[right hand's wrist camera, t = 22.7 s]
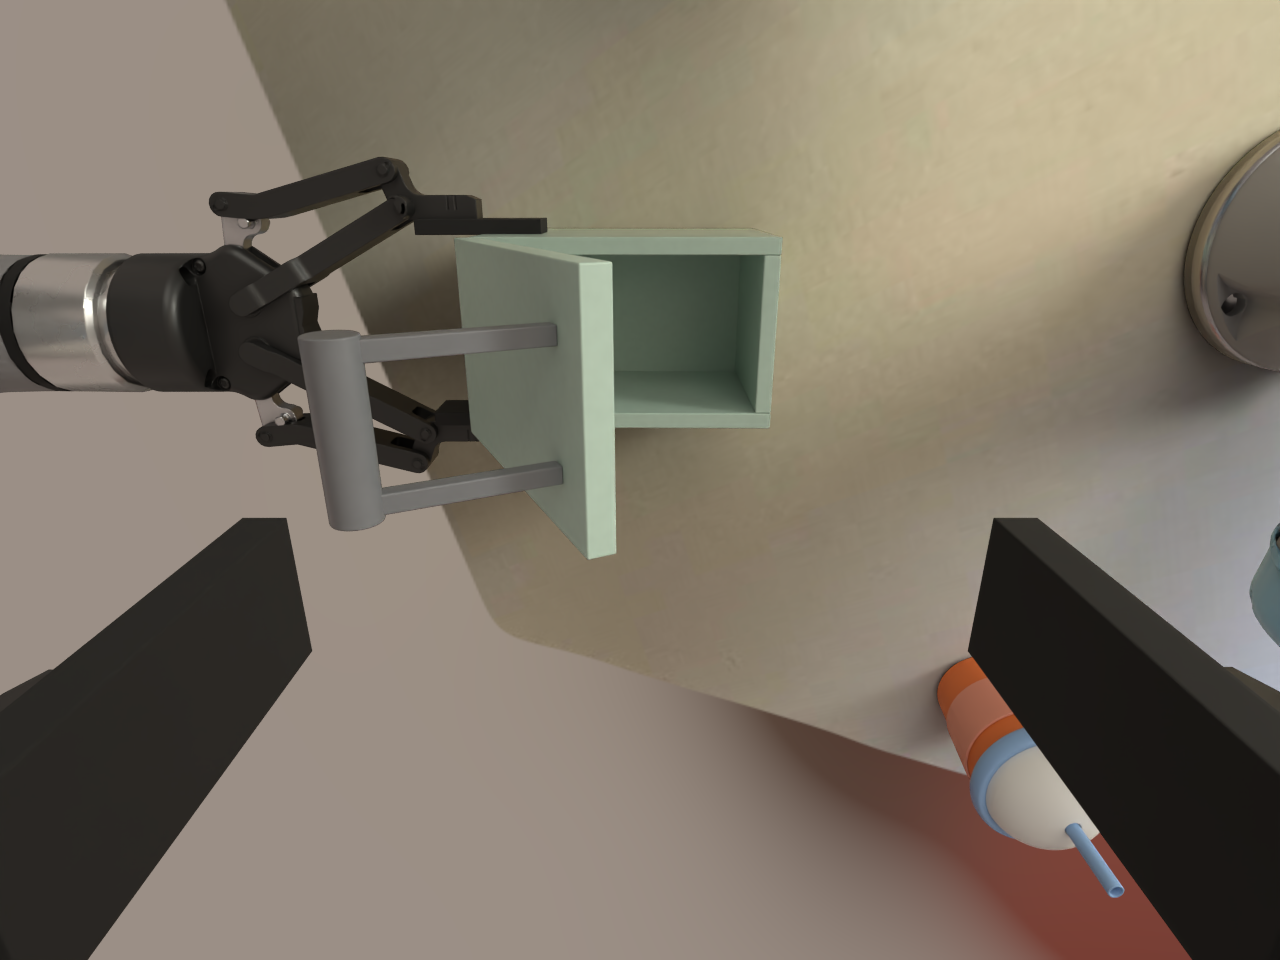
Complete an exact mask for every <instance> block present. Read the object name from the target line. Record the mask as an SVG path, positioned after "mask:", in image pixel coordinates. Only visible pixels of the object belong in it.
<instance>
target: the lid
mask: <svg viewBox="0 0 1280 960" xmlns="http://www.w3.org/2000/svg"><path fill="white" fill-rule="evenodd" d="M454 244H455V255H456V266H457V277H458V289H459V300H460V311H461V322H462V328H459V329H445V330H432V331H418V332H405V333H392V334H378V335H365V336H360V333H359V332H356V331H351V330H325V331H316V332H309V333H305V334H302V335H300V336H298V345H299V351H300V357H301V362H302V368H303V374H304V380H305V386H306V391H307V397H308V403H309V409H310V415H311V420H312V426H313V432H314V438H315V444H316V449H317V455H318V461H319V467H320V472H321V478H322V484H323V490H324V496H325V501H326V507H327V513H328V519H329V524H330V526H331V527H332V528H333V529H336V530H340V531H358V530H363V529H368V528H371V527H374V526H376V525H378V524H380V523H381V522H383V521H384V519H385V517H386V515H387V514H393V513H399V512H405V511H410V510H416V509H422V508H427V507H433V506H439V505H445V504H451V503H457V502H462V501H468V500H474V499H480V498H485V497H491V496H497V495H503V494H509V493H514V492H520V491H525V492H526V493H527V494H528V495H529V496H530V497H531V498H532V499H533V500H534V501H535V503H536V504H537V505H538V506H539V507H540V508H541V509H542V510H543V511H544V512H545V514H546V515H547V516H548V517H549V518H550V519H551V520H552V521H553V522H554V523H555V525H556V526H557V527H558V528H559V529H560V530H561V531H562V532H563V533H564V535H565V536H566V537H567V538H568V539H569V540H570V541H571V542H572V543H573V544H574V546H575V547H576V548H577V549H578V550H579V551H580V552H581V553H582V554H583V555H584V557H585V558H586V559H587V560H590V559H595V558H599V557H604V556H608V555H613V554H616V496H615V425H614V353H613V281H612V262H610V261H605V260H599V259H593V258H588V257H582V256H577V255H571V254H566V253H560V252H554V251H549V250H543V249H538V248H532V247H526V246H521V245H515V244H510V243H504V242H499V241H493V240H487V239H482V238H476V237H471V238H454ZM453 355H464V356H465V367H466V378H467V389H468V400H469V412H470V423H471V432H472V433H473V434H474V435H475V436H476V438H477V439H478V440H479V441H480V442H481V443H482V444H483V445H484V446H485V448H486V449H487V450H488V451H489V452H490V453H491V454H492V455H493V456H494V457H495V459H496V460H497V461H498V462H499V463H500V464H501V465H502V466H503V467H504V468H505V469H499V470H492V471H486V472H480V473H473V474H467V475H461V476H454V477H448V478H442V479H435V480H429V481H423V482H416V483H410V484H404V485H398V486H391V487H385V488H382V485H381V478H380V471H379V464H378V457H377V450H376V443H375V435H374V428H373V421H372V414H371V407H370V400H369V393H368V386H367V379H366V371H365V364H364V363H374V362H386V361H397V360H408V359H419V358H430V357H441V356H453Z"/></svg>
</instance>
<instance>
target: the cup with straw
mask: <svg viewBox="0 0 1280 960" xmlns="http://www.w3.org/2000/svg"><path fill="white" fill-rule="evenodd" d="M937 697H938V702H939V704H940V707H941V709H942V712H943V714H944V716H945V719H946V721H947V728H948V732H949V734H950V736H951V739H952V741H953V743H954V746H955V748H956V750H957V752H958V755H959V757H960V759H961V762H962V764H963V766H964V769H965V771H966V773H967V776H968V778H969V779H970V795H971V799H972V802H973V805H974V807H975V809H976V811H977V813H978V814H979V815H980V817H981V818H982V819H983V820H984V821H985V822H986V823H987V824H988V825H989V826H990V827H991V828H992V829H994V830H995V831H997V832H998V833H1000V834H1002V835H1004V836H1007V837H1010V838H1013V839H1017V840H1018V841H1020V842H1022V843H1024V844H1027V845H1030V846H1032V847H1036V848H1041V849H1047V850H1064V849H1070V848H1074V847H1076V848H1077V849H1078V850H1079V852H1080V853H1081V855H1082V856H1083V858H1084V859H1085V861H1086V862H1087V864H1088V865H1089V867H1090V868H1091V870H1092V871H1093V873H1094V874H1095V876H1096V877H1097V879H1098V880H1099V882H1100V883H1101V884H1102V886H1103V888H1104V889H1105V891H1106V892H1107V894H1108V895H1109V896H1110V897H1114V898H1115V897H1119V896H1121V895H1122V894H1123V893H1124V888H1123V887H1122V885H1121V884H1120V883H1119V881H1118V880H1117V878H1116V877H1115V875H1114V874H1113V873H1112V871H1111V870H1110V868H1109V867H1108V865H1107V864H1106V863H1105V861H1104V860H1103V858H1102V857H1101V855H1100V854H1099V853H1098V851H1097V850H1096V848H1095V847H1094V846H1093V844H1092V843H1091V841H1090V840H1091V839H1092V838H1094V837H1095V836H1096V835H1097V834H1098V833H1099V831H1098V829H1097V828H1096V827H1095V825H1094V824H1093V822H1092V821H1091V820H1090V818H1089V817H1088V816H1087V814H1086V813H1085V811H1084V810H1083V809H1082V807H1081V806H1080V805H1079V803H1078V802H1077V800H1076V799H1075V798H1074V796H1073V795H1072V793H1071V792H1070V791H1069V789H1068V788H1067V787H1066V785H1065V784H1064V782H1063V781H1062V780H1061V778H1060V777H1059V776H1058V774H1057V773H1056V771H1055V770H1054V769H1053V767H1052V766H1051V765H1050V763H1049V762H1048V760H1047V759H1046V758H1045V756H1044V755H1043V754H1042V752H1041V751H1040V749H1039V748H1038V747H1037V745H1036V744H1035V743H1034V741H1033V740H1032V738H1031V737H1030V736H1029V734H1028V733H1027V732H1026V730H1025V729H1024V727H1023V726H1022V725H1021V723H1020V722H1019V721H1018V719H1017V718H1016V716H1015V715H1014V714H1013V712H1012V711H1011V710H1010V708H1009V707H1008V705H1007V704H1006V703H1005V701H1004V700H1003V699H1002V697H1001V696H1000V694H999V693H998V692H997V690H996V689H995V688H994V686H993V685H992V683H991V682H990V681H989V679H988V678H987V677H986V675H985V674H984V672H983V671H982V670H981V668H980V667H979V666H978V664H977V663H976V661H975V660H974V659H973V657H972V658H968V659H965V660H963V661H961V662H959V663H957V664H955V665H954V666H952V667H951V668H950V669H949V670H948V671H947V672H946V673H945V674H944V676H943V677H942V679H941V681H940V683H939V686H938V691H937Z"/></svg>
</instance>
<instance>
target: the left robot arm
mask: <svg viewBox="0 0 1280 960" xmlns="http://www.w3.org/2000/svg"><path fill="white" fill-rule="evenodd" d="M381 189H382V190H383V192H384V194H385V196H386V198H387V201H386V202H384V203H382V204H381V205H379V206H378V207H376V208H374V209H373V210H371V211H370V212H368V213H367V214H365V215H363V216H362V217H360V218H359V219H357V220H355V221H354V222H352V223H351V224H349V225H347V226H346V227H344V228H343V229H341V230H339V231H338V232H336V233H335V234H333V235H332V236H330V237H328V238H327V239H325V240H324V241H322V242H320V243H319V244H317V245H316V246H314V247H312V248H311V249H309V250H308V251H306V252H305V253H303V254H301V255H300V256H298V257H296V258H294V259H291V260H289V261H287V262H286V263H284V264H282V265H280V264H279V263H277V262H276V261H274V260H273V259H271V258H270V257H268V256H267V255H265V254H264V253H262V252H261V251H259V250H258V249H256V248H255V247H253V246H252V239H253V238H254V236H256V235H257V234H262V233H265V232H266V231H267V230H268V228H269V225H270V220H269V219H272V218H285V217H289V216H293V215H297V214H300V213H304V212H307V211H310V210H314V209H317V208H320V207H324V206H327V205H330V204H334V203H337V202H341V201H344V200H347V199H351V198H354V197H357V196H361V195H364V194H368V193H371V192H374V191H378V190H381ZM209 205H210V208H211V210H212V211H213V212H214V213H215V214H216V215H218V216H221V218H222V227H223V236H224V244H225V245H224V246H222V247H220V248H218V249H217V250H216V251H214V252H212V253H162V254H161V253H155V254H154V253H153V254H137V255H134V256H131V255H128V254H40V255H0V393H3V392H26V391H106V392H145V391H150V390H156V391H162V392H224V391H230V392H237V393H240V394H242V395H245V396H247V397H249V398H251V399H254V400H255V401H256V404H257V408H258V411H259V415H260V418H261V422H262V425H263V426H262V427H261V428H259V429H258V430H257V432H256V439H257V441H258V442H259V443H260V444H261V445H263V446H266V447H273V446H284V445H295V444H298V445H303V446H307V447H311V448H315V449H316V444H315V438H314V432H313V426H312V420H311V415H310V413H303V410H302V408H301V407H299V406H296V405H293V404H288V403H286V402H284V401H283V400H282V399H281V398H280V396H279V393H280V392H281V391H283V390H284V389H285V388H286V387H287V386H289V385H290V384H291V383H292V384H294V385H296V386H298V387H300V388H302V389H304V390H306V386H305V380H304V374H303V368H302V362H301V357H300V351H299V345H298V336H300V335H302V334H305V333H309V332H316V331H321V328H320V326H319V324H318V321H317V319H318V310H319V305H318V299H317V293H312V291H311V289H310V287H311V286H313V285H314V284H316V283H317V282H319V281H321V280H322V279H324V278H325V277H327V276H328V275H329V274H330V273H331V272H333V271H335V270H336V269H338V268H339V267H341V266H343V265H344V264H346V263H348V262H349V261H351V260H352V259H354V258H356V257H357V256H359V255H361V254H362V253H364V252H365V251H367V250H369V249H370V248H372V247H373V246H375V245H377V244H378V243H380V242H382V241H383V240H385V239H386V238H388V237H390V236H391V235H393V234H395V233H396V232H398V231H399V230H401V229H403V228H404V227H406V226H407V225H409V224H411V223H412V222H414V228H415V235H481V234H543V233H546V232H547V218H483V215H482V201H481V199H479V198H477V197H475V196H472V195H424V194H421V193H420V192H418V191H417V190H416V189H415V187H414V186H413V184H412V181H411V179H410V177H409V169H408V167H407V165H406V164H405V163H404V162H403V161H401V160H398V159H393V158H387V157H377V158H374V159H371V160H367V161H364V162H361V163H357V164H354V165H351V166H347V167H344V168H341V169H337V170H334V171H331V172H327V173H324V174H321V175H317V176H314V177H311V178H308V179H304V180H301V181H298V182H294V183H291V184H288V185H284V186H281V187H278V188H274V189H271V190H268V191H264V192H261V193H258V194H256V193H245V192H215V193H213V194H212V195H211V196H210V198H209ZM366 379H367V386H368V393H369V400H370V407H371V414H372V419H374V420H376V421H378V422H380V423H383V424H385V425H387V426H389V427H391V428H393V429H395V430H397V431H399V432H401V433H403V434H405V435H403V434H399V433H395V432H391V431H387V430H383V429H379V428H374V427H373V428H374V435H375V443H376V450H377V457H378V464H382V465H386V466H390V467H394V468H398V469H403V470H406V471H411V472H415V473H422V472H424V471H425V470H426V469H427V468H428V467H429V466H430V464H431V463H432V462H433V461H434V459H435V458H436V457H437V455H438V453H439V449H438V448H439V445H440V443H441V442H444V441H479V440H478V439H477V438H476V436H475V435H474V434H473V433H472V432H471V423H470V412H469V400H446V401H445V402H444V403H443V404H442V405H441V406H440V407H439V408H438V409H437V410H436V411H435V410H433V409H431V408H429V407H427V406H425V405H423V404H421V403H419V402H417V401H415V400H413V399H411V398H409V397H407V396H405V395H403V394H401V393H399V392H397V391H395V390H393V389H391V388H389V387H387V386H384V385H383V384H380V383H378V382H376V381H374V380H372V379H370V378H368V377H366Z"/></svg>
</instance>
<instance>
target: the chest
mask: <svg viewBox="0 0 1280 960" xmlns="http://www.w3.org/2000/svg"><path fill="white" fill-rule="evenodd" d="M471 237H476V238H482V239H487V240H493V241H499V242H504V243H510V244H515V245H521V246H526V247H532V248H538V249H543V250H549V251H554V252H560V253H566V254H571V255H577V256H582V257H588V258H593V259H599V260H605V261H610V262H612V281H613V353H614V425H615V428H762V429H768V428H770V412H771V400H772V385H773V370H774V355H775V341H776V326H777V311H778V296H779V281H780V267H781V256H780V255H781V253H782V237H780V236H777V235H773V234H770V233H767V232H763V231H760V230H756V229H753V228H547V232H546V233H543V234H481V235H476V236H471ZM471 237H469V238H471Z"/></svg>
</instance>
